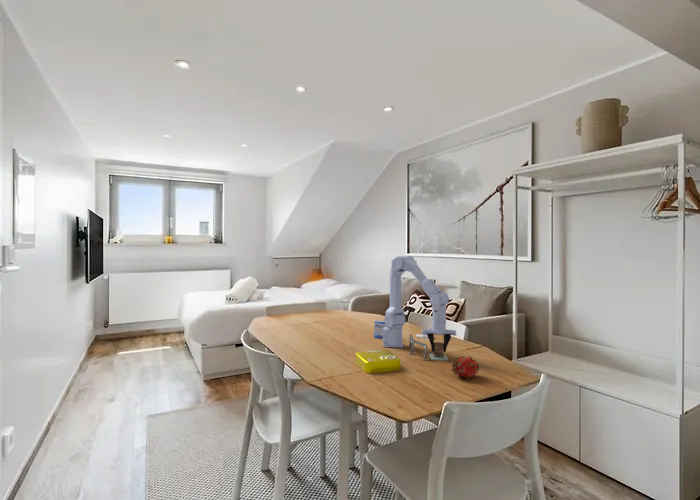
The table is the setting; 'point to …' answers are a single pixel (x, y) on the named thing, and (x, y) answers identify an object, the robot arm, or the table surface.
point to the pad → (438, 357)
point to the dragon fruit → (465, 367)
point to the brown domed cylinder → (438, 349)
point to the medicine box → (378, 328)
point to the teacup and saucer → (422, 336)
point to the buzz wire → (419, 344)
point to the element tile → (378, 361)
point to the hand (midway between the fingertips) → (438, 351)
